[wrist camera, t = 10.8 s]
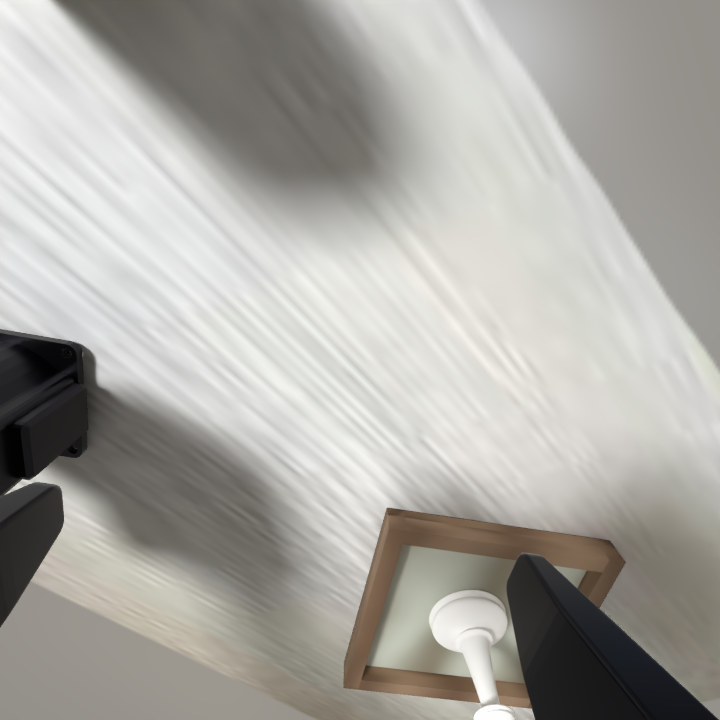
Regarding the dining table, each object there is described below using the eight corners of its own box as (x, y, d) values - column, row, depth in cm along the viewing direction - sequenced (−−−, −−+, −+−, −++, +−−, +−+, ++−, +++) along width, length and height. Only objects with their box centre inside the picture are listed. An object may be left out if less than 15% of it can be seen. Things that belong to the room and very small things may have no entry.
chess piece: (488, 647, 28) (554, 874, 19) (418, 635, 27) (451, 862, 18) (517, 597, 26) (608, 819, 17) (444, 582, 26) (495, 803, 16)
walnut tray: (344, 662, 29) (343, 687, 28) (387, 507, 24) (389, 528, 23) (531, 684, 30) (540, 709, 29) (609, 540, 25) (625, 562, 24)
